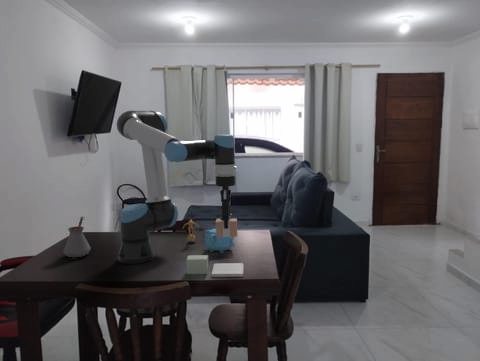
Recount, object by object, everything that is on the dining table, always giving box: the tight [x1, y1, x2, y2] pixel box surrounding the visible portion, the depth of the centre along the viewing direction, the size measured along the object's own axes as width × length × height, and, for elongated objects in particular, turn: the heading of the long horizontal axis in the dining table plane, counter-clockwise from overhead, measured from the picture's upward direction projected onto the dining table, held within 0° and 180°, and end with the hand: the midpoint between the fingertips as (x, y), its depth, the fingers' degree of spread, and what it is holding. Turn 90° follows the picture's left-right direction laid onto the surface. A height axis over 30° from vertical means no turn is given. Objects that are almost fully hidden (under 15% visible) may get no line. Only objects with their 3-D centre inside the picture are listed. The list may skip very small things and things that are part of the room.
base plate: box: [211, 262, 244, 278], centre depth 162 cm, size 12×12×1 cm
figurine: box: [182, 218, 200, 243], centre depth 203 cm, size 8×6×12 cm
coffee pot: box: [63, 216, 91, 258], centre depth 190 cm, size 21×12×15 cm, turn 9°
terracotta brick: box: [215, 218, 238, 238], centre depth 160 cm, size 8×5×6 cm, turn 89°
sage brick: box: [185, 254, 209, 275], centre depth 162 cm, size 8×5×6 cm, turn 89°
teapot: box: [204, 227, 235, 254], centre depth 191 cm, size 13×14×11 cm
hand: (226, 234), depth 160 cm, fingers closed on terracotta brick, 5 cm apart
